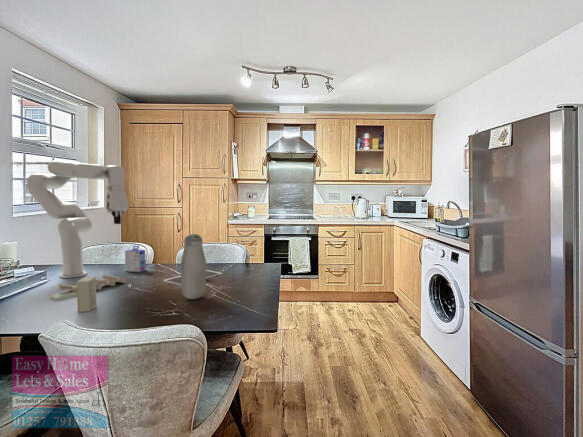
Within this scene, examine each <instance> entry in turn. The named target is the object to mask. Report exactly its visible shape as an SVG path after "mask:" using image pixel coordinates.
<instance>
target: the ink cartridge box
mask: <svg viewBox="0 0 583 437" xmlns="http://www.w3.org/2000/svg"><path fill="white" fill-rule="evenodd" d="M139 248H140V245H133V247H132V249H126V250H125V251H124V265H125V266H124V270H125V272H133V273H135V272H136V273H140V272H145V271H146V249H139Z"/></svg>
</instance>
